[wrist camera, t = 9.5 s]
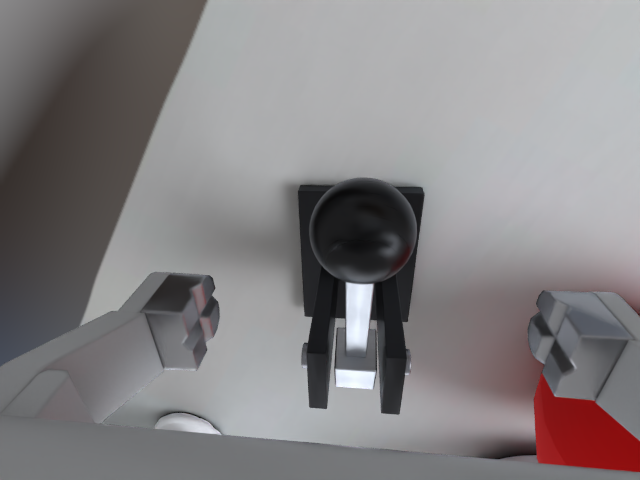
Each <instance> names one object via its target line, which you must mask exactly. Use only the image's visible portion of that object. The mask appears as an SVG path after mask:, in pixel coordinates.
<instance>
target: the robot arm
mask: <svg viewBox="0 0 640 480" xmlns="http://www.w3.org/2000/svg"><path fill="white" fill-rule="evenodd" d="M214 290H215V285H214V281H213V278H212V277H211V276H210V275H200V274H185V273H168V272H154V273H151V274H150V275H149V276H148V277H147V278H146V279H145V280H144V282H143V283H142V284H141V285H140V286H139V287H138V289H137V290H136V291H135V292H134V293H133V294H132V295H131V297H130V298H129V299H128V300H127V301H126V302H125V303H124V305H123V306H122V307H121V308H120V309H119V310H118V311H111V312H109V313H107V314H105V315H103V316H100V317H98V318H96V319H94V320H92V321H90V322H88V323H86V324H84V325H82V326H80V327H78V328H76V329H74V330H72V331H70V332H68V333H66V334H64V335H62V336H60V337H58V338H56V339H54V340H52V341H49V342H47V343H45V344H43V345H41V346H40V347H37V348H35V349H33V350H31V351H29V352H27V353H25V354H23V355H21V356H19V357H17V358H15V359H13V360H11V361H9V362H7V363H5V364H3V365H2V366H1V367H0V480H640V472H632V471H621V470H610V469H599V468H588V467H576V466H565V465H554V464H543V463H532V462H520V461H509V460H498V459H487V458H476V457H465V456H453V455H442V454H431V453H420V452H409V451H398V450H387V449H376V448H364V447H353V446H342V445H331V444H320V443H309V442H298V441H287V440H276V439H264V438H253V437H242V436H231V435H220V434H209V433H198V432H186V431H175V430H164V429H153V428H142V427H131V426H120V425H108V424H100V423H101V422H102V421H104V420H105V419H106V418H107V417H109V416H110V415H111V414H112V413H113V412H115V411H116V410H117V409H118V408H120V407H121V406H122V405H123V404H124V403H126V402H127V401H128V400H129V399H131V398H132V397H133V396H134V395H135V394H137V393H138V392H139V391H140V390H142V389H143V388H144V387H145V386H146V385H148V384H149V383H150V382H151V381H152V380H154V379H155V378H156V377H157V376H159V375H160V374H161V373H162V372H163V371H164V369H168V370H191V371H197V370H198V368H199V366H200V364H201V362H202V360H203V358H204V356H205V354H206V352H207V347H206V342H207V341H208V340H210V339H211V338H213V337H214V335H215V333H216V330H217V328H218V323H219V318H220V316H219V304H218V301H217V300H216V299H215V298H214V297H213V296H212V293H213V292H214ZM536 305H537V307H538V309H539V310H540V312H539V313H537V314H536V315H535V316H533V317H532V318H531V319H530V323H529V326H528V343H529V346H530V350H531V352H532V354H533V356H534V357H535V358H536V359H537V360H539V361H540V362H541V363H543V364H544V365H545V366H544V368H543V371H542V373H543V375H544V377H545V379H546V381H547V383H548V385H549V387H550V389H551V391H552V393H553V395H554V397H564V398H574V399H584V400H594V401H596V402H595V403H597V404H598V405H599V406H600V407H601V408H602V409H603V410H605V411H606V412H607V413H608V414H609V415H610V416H612V417H613V418H614V419H615V420H616V421H617V422H618V423H620V424H621V425H622V426H623V427H624V428H625V429H627V430H628V431H629V432H630V433H631V434H632V435H633V436H635V437H636V438H637V439H638V440H639V441H640V316H639V315H638V314H637V313H636V312H635V311H634V310H633V309H632V308H631V307H630V306H629V305H628V304H627V303H626V301H625V300H624V299H623V298H622V297H621V296H620V295H618V294H616V293H614V292H568V291H542V292H541V294H540V295H539V297H538V299H537V302H536Z"/></svg>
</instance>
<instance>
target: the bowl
mask: <svg viewBox="0 0 640 480" xmlns="http://www.w3.org/2000/svg"><path fill="white" fill-rule="evenodd" d="M498 460H509V461H520V462H532V463H538V460H537V455H525V456H514V457H507V458H503V459H498Z"/></svg>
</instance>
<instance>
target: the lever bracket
mask: <svg viewBox="0 0 640 480" xmlns="http://www.w3.org/2000/svg"><path fill="white" fill-rule="evenodd" d="M332 187H334V186H314V185H300V188H299V190H298V201H299V219H300V238H301V257H302V275H303V294H304V312H305V316H306V317H312V323H311V328H310V334H309V340H308V343H304V344H303V348H302V360H301V362H302V368H307V373H308V392H309V407H310V408H321V409H327V403H328V392H329V381H330V370H331V360H332V349H333V338H334V327H335V318H344V319H345V318H346V282H345V281H342V280H340V279H338V278H336V277H334V276H333V275H331V274H330V273H329V272H328V271H327V270H326V269H324V267H323V266H322V265H321V264H320V263H319V261H318V260H317V258H316V256H315V254H314V252H313V250H312V246H311V242H310V236H309V227H310V220H311V216H312V213H313V211H314V209H315V206H316V205H317V203H318V202H319V200H320V199H321V197H322V196H323V195H324V194H325V193H326V192H327V191H328V190H330V189H331V188H332ZM394 188H396V189H397V190H398V191H399V192H400V193H401V194H402V195H403V196H404V197H405V198H406V199H407V201H408V202H409V204H410V206H411V208H412V210H413V212H414V215H415V218H416V223H417V238H416V244H415V247H414V250H413V253H412V255H411V256H410V258H409V260H408V262H407V263H406V264H405V265H404V266H403V268H402V269H401V270H400V271H398V272H397V273H396V274H395V275H393V276H392V277H390V278H388V279H386V280H384V281H381V282H378V283H374V290H373V300H372V309H371V318H370V320H377V334H378V356H379V377H380V399H381V413H385V414H397V415H399V414H400V407H401V400H402V392H403V385H404V378H405V375H410V372H411V354H410V350H409V349H406V346H405V338H404V330H403V323H402V322H408V315H409V308H410V300H411V293H412V285H413V278H414V270H415V263H416V255H417V247H418V240H419V232H420V225H421V217H422V210H423V202H424V195H425V194H424V191H423V188H419V187H394Z"/></svg>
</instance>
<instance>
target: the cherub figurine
mask: <svg viewBox="0 0 640 480" xmlns="http://www.w3.org/2000/svg"><path fill="white" fill-rule="evenodd" d="M154 429H164V430H175V431H186V432H198V433H209V434H220V432H219V431H217V430H216V429H215V428H214V427H213V426H212V425H211V424H210V423H209V422H208V421H206V420H203V419H202V418H201V419H200V418H198V417H197V416H195V415H191V414H186V413H173V414H169V415H166V416H164V417H162V418H160V419H159V421H158V422H157V423H156V425H155V428H154ZM220 435H221V434H220Z"/></svg>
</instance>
